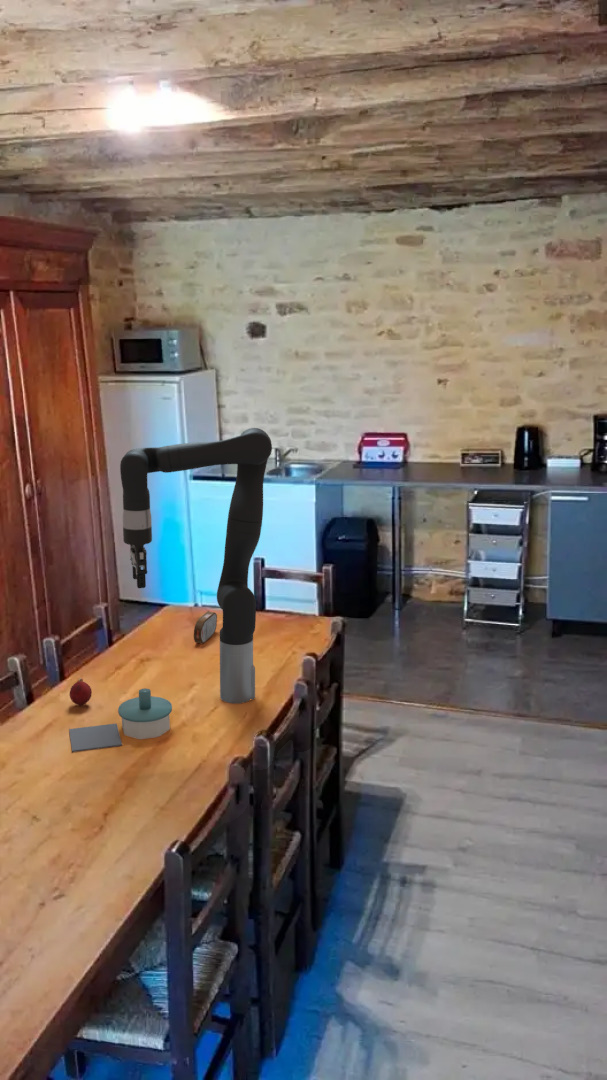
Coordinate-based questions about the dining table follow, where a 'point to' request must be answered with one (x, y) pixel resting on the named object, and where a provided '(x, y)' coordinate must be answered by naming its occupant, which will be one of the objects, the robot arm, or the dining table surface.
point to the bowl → (146, 728)
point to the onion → (80, 692)
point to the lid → (145, 707)
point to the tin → (205, 627)
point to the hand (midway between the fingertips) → (139, 583)
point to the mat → (95, 737)
